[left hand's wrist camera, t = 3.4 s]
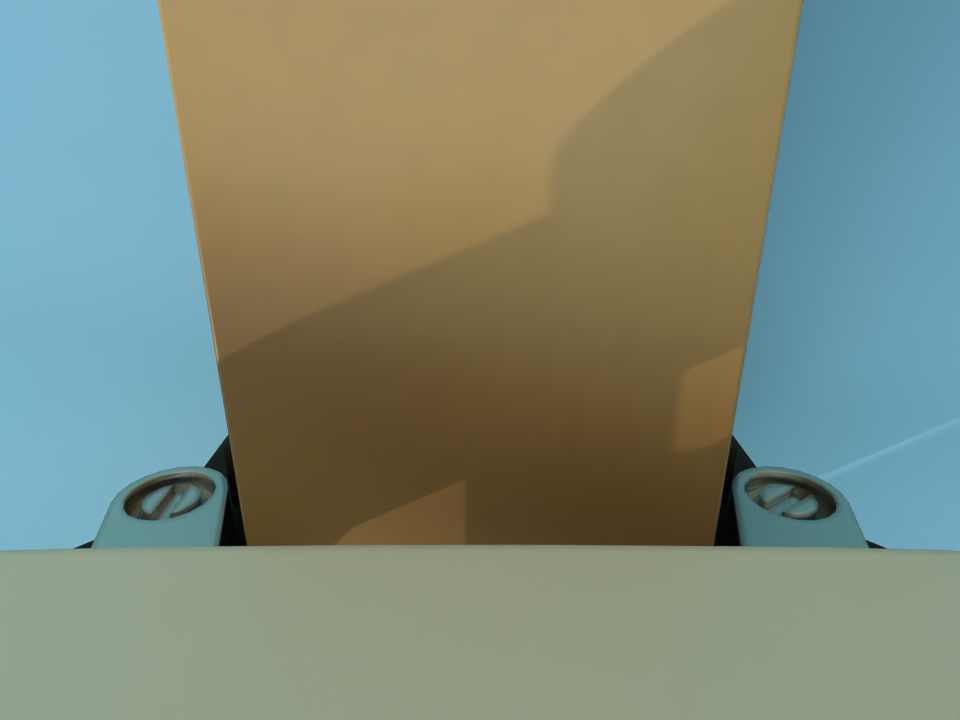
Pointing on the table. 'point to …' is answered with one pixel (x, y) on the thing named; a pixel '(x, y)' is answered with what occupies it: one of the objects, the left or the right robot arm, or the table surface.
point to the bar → (480, 258)
